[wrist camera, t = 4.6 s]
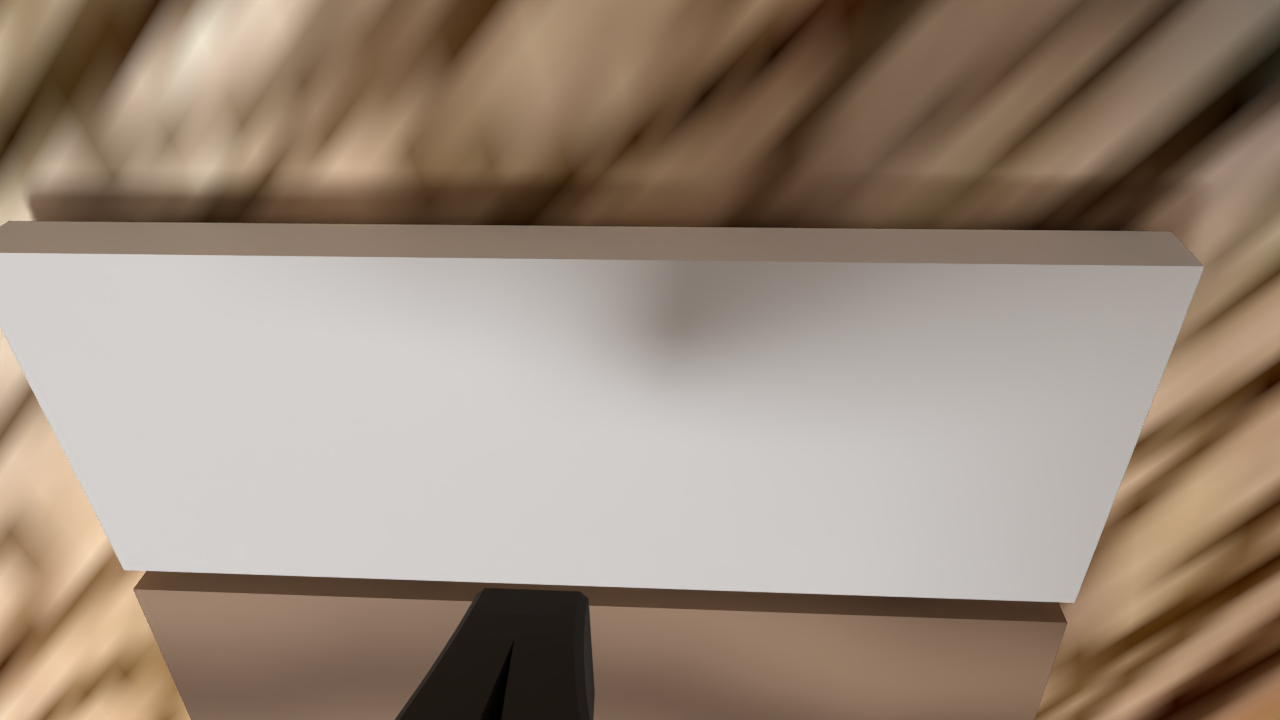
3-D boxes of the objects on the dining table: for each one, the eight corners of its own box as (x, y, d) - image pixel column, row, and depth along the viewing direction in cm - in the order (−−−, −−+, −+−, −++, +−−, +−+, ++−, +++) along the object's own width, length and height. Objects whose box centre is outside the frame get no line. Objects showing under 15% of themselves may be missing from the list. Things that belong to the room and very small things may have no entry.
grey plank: (1054, 558, 19) (1074, 602, 18) (152, 530, 20) (123, 570, 19) (1170, 231, 14) (1204, 266, 14) (8, 220, 16) (-39, 252, 15)
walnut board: (986, 774, 23) (1000, 819, 22) (238, 739, 24) (218, 780, 23) (1048, 580, 19) (1067, 622, 18) (161, 550, 20) (133, 589, 19)
